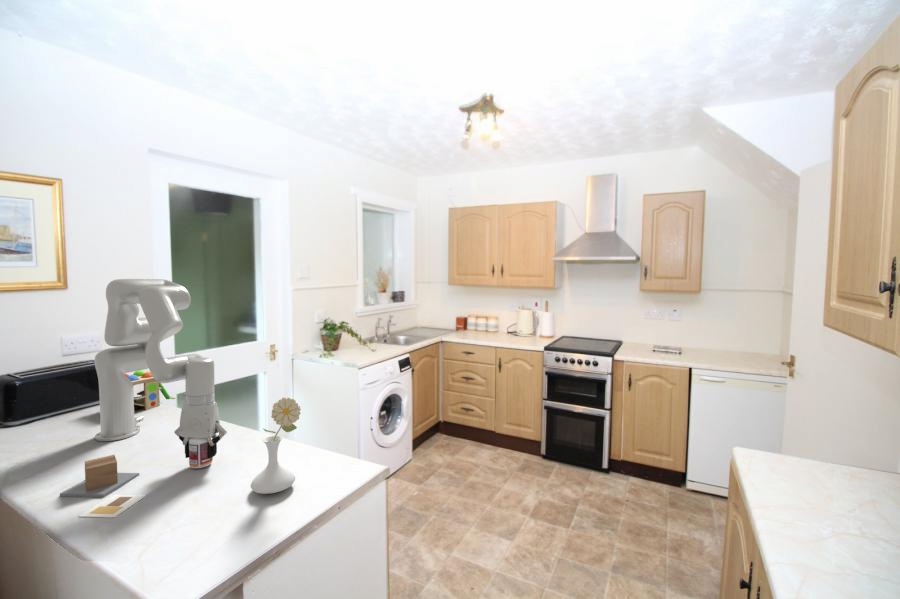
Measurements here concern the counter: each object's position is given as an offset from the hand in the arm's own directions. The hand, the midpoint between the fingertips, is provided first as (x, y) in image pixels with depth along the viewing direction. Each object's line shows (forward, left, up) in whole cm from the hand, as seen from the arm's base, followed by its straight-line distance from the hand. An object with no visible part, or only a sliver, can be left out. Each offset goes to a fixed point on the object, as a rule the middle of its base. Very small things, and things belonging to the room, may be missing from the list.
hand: (200, 455), depth 127 cm
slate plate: (+12, -20, -3) cm, 24 cm away
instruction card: (+22, -8, -3) cm, 24 cm away
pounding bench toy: (-52, -57, -4) cm, 77 cm away
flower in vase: (+11, +29, -4) cm, 31 cm away
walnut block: (+12, -20, -3) cm, 24 cm away
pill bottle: (0, 0, -3) cm, 3 cm away
